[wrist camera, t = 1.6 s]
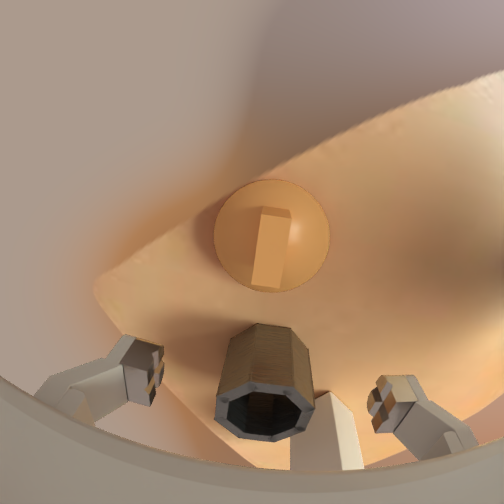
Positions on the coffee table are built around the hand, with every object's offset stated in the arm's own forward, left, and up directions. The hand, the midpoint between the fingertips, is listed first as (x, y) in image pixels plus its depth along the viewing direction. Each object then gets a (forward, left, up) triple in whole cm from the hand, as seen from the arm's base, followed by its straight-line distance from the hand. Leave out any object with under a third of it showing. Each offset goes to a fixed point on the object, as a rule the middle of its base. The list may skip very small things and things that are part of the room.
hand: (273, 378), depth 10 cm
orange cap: (0, 0, -21) cm, 21 cm away
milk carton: (-12, +26, -22) cm, 36 cm away
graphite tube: (-2, +16, -21) cm, 27 cm away
